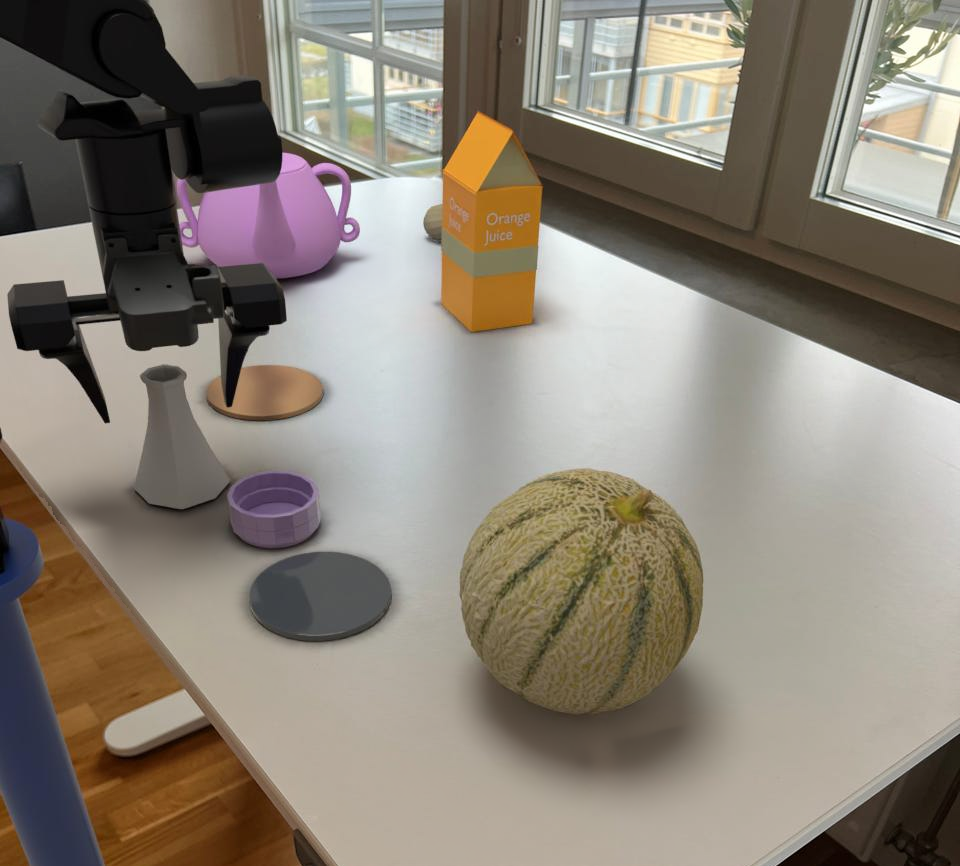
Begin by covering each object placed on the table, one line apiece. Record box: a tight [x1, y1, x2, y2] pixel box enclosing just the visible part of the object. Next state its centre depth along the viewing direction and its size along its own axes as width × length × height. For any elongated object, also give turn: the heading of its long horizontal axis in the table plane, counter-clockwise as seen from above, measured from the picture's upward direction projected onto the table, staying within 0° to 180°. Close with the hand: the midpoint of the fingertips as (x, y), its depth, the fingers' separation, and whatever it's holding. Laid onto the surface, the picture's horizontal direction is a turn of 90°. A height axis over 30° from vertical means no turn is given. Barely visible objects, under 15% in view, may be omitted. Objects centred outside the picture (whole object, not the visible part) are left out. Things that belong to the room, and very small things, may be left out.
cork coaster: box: [205, 364, 324, 421], centre depth 95 cm, size 11×11×1 cm
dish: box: [226, 470, 322, 549], centre depth 77 cm, size 7×7×3 cm
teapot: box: [176, 151, 361, 279], centre depth 117 cm, size 22×22×14 cm
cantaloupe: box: [459, 467, 704, 715], centre depth 60 cm, size 15×15×15 cm
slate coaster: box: [248, 551, 392, 642], centre depth 71 cm, size 10×10×1 cm
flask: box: [133, 364, 231, 510], centre depth 78 cm, size 7×7×10 cm
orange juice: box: [440, 110, 544, 333], centre depth 106 cm, size 8×9×20 cm
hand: (168, 413), depth 77 cm, fingers open, 9 cm apart
